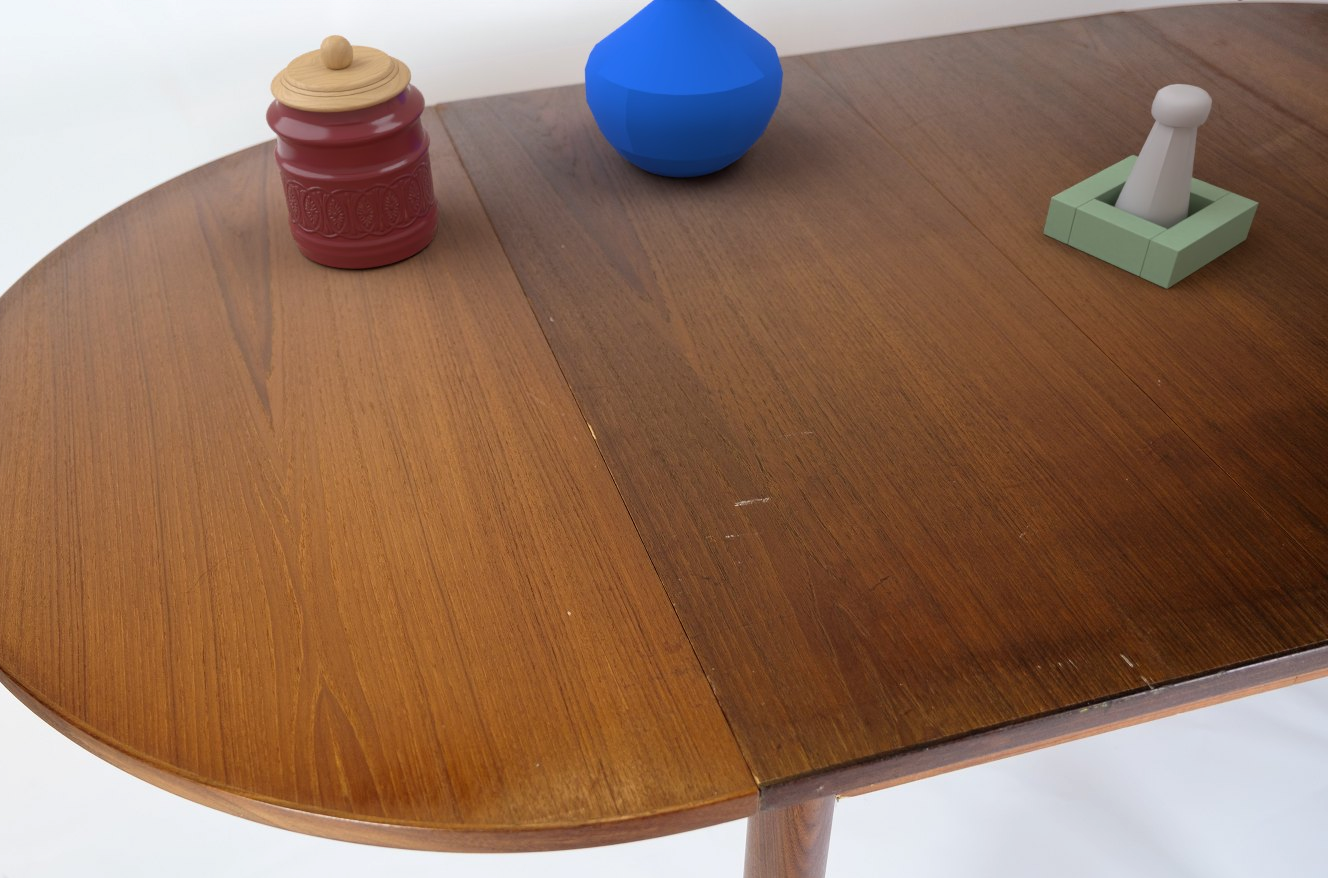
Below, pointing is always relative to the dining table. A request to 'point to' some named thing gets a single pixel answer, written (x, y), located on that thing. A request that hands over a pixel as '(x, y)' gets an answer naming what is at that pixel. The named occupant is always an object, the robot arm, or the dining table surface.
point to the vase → (683, 87)
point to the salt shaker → (1167, 157)
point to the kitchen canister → (353, 156)
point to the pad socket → (1148, 226)
